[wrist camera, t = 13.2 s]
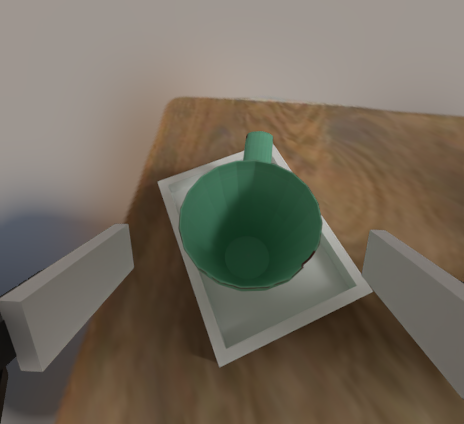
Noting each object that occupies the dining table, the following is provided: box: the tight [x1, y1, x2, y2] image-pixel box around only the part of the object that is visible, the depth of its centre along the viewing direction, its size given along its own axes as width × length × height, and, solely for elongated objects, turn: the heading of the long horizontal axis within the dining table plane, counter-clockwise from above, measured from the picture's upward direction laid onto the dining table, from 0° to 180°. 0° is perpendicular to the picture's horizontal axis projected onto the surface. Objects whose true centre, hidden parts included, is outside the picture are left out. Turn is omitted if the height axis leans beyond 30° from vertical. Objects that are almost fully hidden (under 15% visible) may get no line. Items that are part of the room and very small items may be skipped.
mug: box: [178, 131, 323, 291], centre depth 22 cm, size 15×10×10 cm
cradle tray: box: [158, 144, 373, 368], centre depth 26 cm, size 15×20×2 cm
